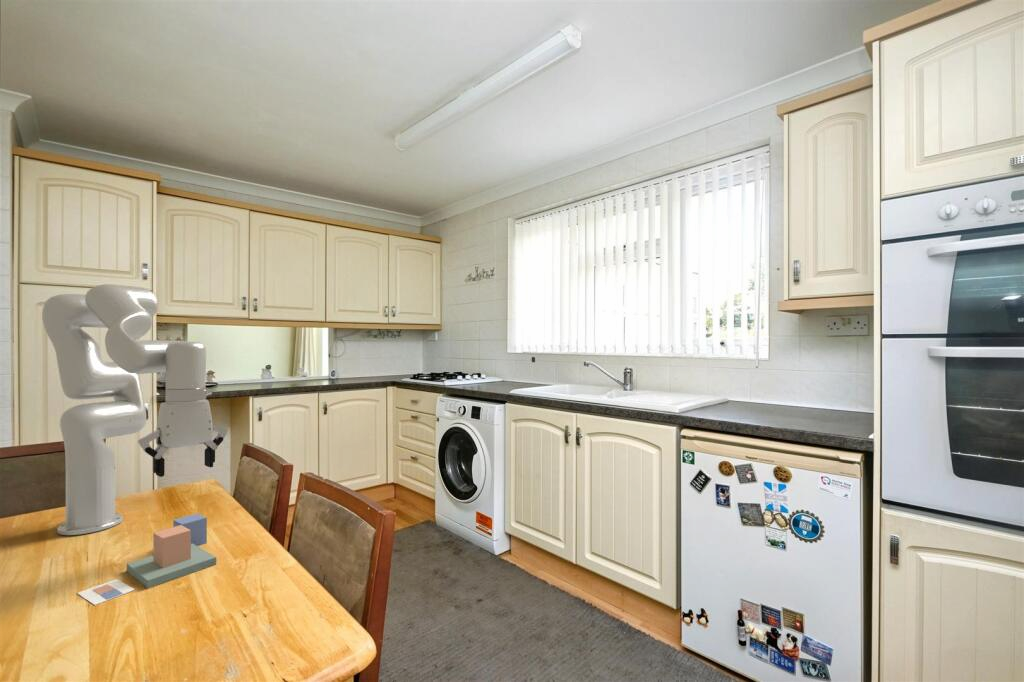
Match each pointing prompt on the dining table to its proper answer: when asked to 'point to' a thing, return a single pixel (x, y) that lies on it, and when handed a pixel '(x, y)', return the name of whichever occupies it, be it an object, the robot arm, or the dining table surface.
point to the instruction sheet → (105, 591)
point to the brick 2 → (194, 527)
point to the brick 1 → (171, 546)
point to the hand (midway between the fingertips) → (185, 470)
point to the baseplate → (169, 567)
